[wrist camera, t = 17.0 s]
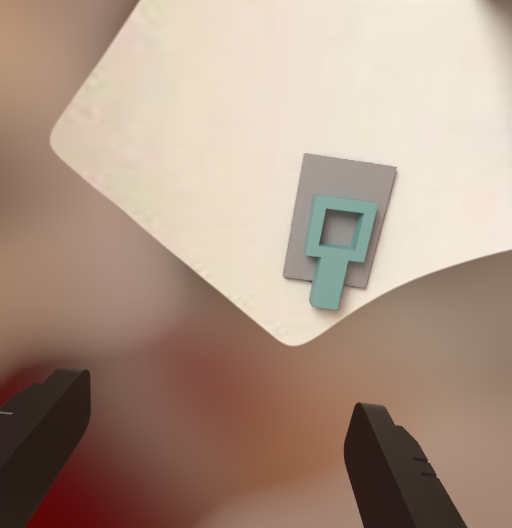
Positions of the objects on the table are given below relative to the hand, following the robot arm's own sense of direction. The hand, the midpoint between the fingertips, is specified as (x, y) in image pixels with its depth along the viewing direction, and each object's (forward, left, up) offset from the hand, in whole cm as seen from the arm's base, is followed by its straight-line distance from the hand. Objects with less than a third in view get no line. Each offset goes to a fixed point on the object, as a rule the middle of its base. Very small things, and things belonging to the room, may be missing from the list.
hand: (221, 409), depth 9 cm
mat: (-2, +10, -28) cm, 30 cm away
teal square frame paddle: (+1, +10, -27) cm, 29 cm away
